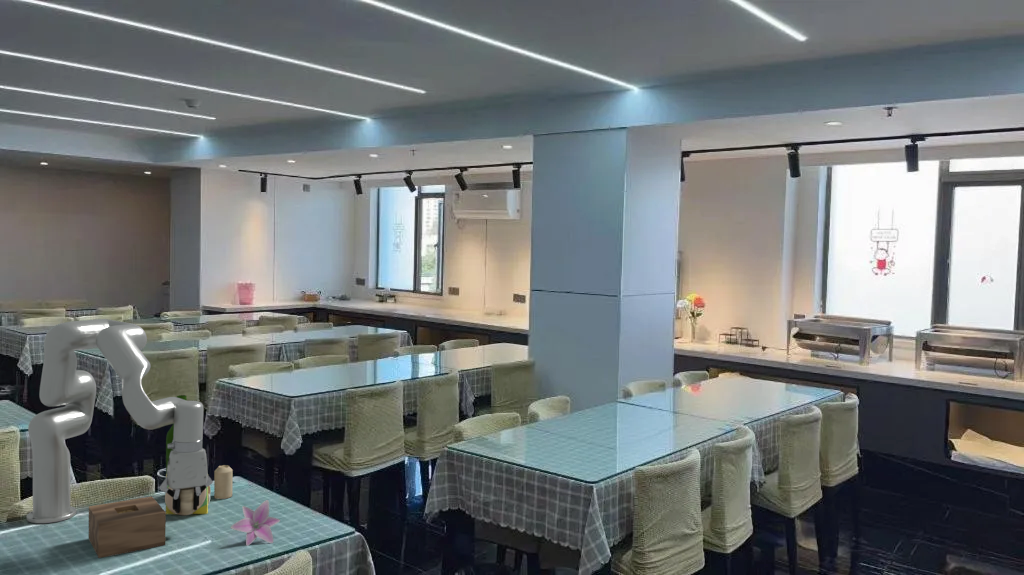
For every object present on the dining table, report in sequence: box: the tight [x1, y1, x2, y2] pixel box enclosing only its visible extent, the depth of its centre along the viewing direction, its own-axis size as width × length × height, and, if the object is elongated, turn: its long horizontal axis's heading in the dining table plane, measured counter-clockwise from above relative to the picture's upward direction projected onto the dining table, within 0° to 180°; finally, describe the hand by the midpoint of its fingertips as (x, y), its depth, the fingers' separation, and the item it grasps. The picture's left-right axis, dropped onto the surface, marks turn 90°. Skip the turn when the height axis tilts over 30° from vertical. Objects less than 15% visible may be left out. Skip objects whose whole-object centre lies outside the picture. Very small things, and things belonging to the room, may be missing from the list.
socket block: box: [88, 496, 167, 559], centre depth 207 cm, size 16×16×9 cm
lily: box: [230, 499, 281, 547], centre depth 211 cm, size 12×12×10 cm
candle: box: [213, 464, 234, 500], centre depth 247 cm, size 6×6×10 cm
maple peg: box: [177, 487, 194, 516], centre depth 214 cm, size 4×4×7 cm
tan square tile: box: [117, 509, 135, 514], centre depth 207 cm, size 4×4×1 cm
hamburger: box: [164, 473, 212, 515], centre depth 232 cm, size 12×8×12 cm
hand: (185, 509), depth 214 cm, fingers closed on maple peg, 4 cm apart
